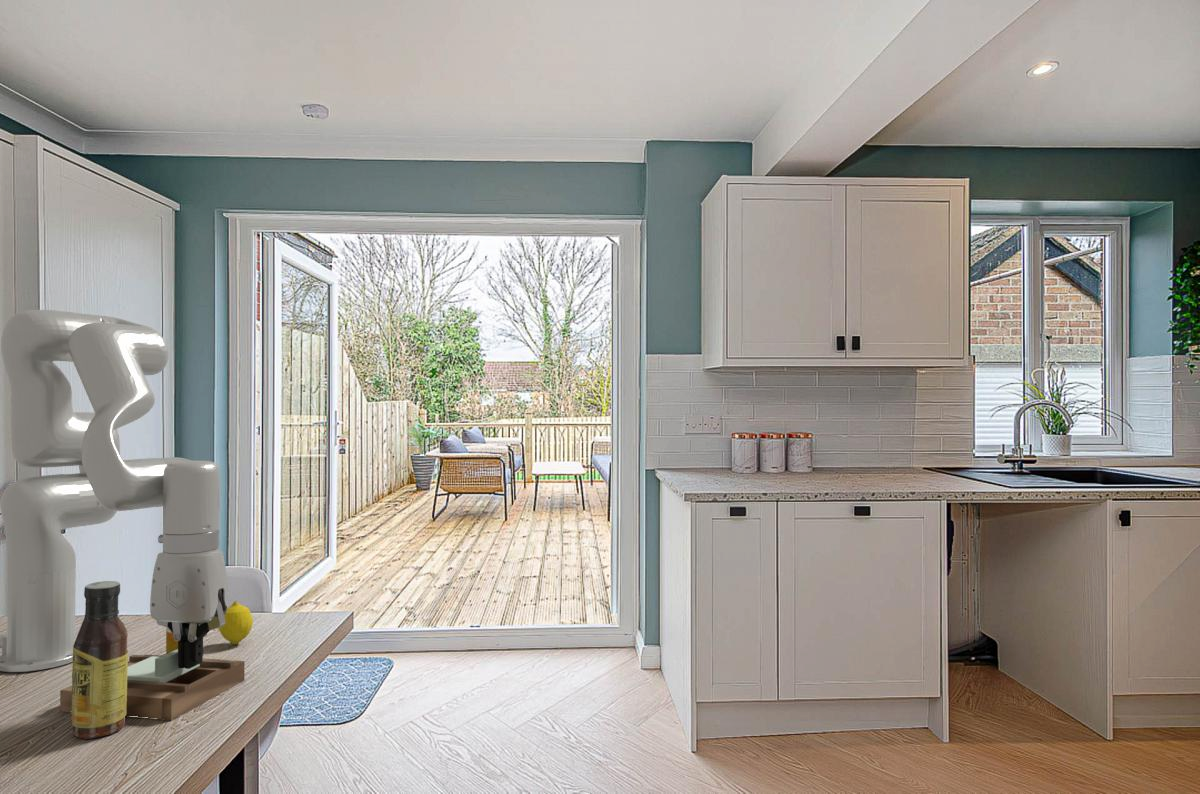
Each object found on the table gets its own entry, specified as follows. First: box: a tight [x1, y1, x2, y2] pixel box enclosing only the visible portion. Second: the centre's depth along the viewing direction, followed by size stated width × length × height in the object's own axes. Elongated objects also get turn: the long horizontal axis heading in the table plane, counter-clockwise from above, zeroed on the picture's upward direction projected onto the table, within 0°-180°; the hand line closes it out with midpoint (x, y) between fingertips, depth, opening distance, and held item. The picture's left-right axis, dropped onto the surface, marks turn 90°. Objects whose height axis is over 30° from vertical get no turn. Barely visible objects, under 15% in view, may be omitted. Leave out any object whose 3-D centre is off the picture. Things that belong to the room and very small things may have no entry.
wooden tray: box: [59, 654, 245, 721], centre depth 116 cm, size 18×16×4 cm
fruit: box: [218, 600, 254, 646], centre depth 140 cm, size 6×6×8 cm
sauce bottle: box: [71, 580, 129, 740], centre depth 103 cm, size 6×6×20 cm
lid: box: [127, 649, 200, 683], centre depth 116 cm, size 8×8×4 cm
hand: (190, 665), depth 115 cm, fingers closed
